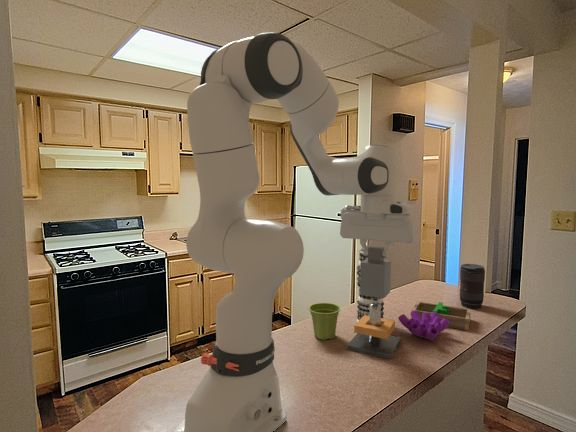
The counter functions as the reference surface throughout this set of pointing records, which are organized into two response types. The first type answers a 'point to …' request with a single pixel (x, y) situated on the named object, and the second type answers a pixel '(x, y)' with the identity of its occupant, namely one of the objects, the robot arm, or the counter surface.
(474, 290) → the camera lens
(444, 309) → the green branched piece
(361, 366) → the counter surface
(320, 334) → the plant pot
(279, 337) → the counter surface
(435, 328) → the purple tube coral
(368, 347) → the pipe stand
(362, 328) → the collar
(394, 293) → the counter surface
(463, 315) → the open wooden box
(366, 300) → the decorative candle
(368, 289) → the grey stepped block
